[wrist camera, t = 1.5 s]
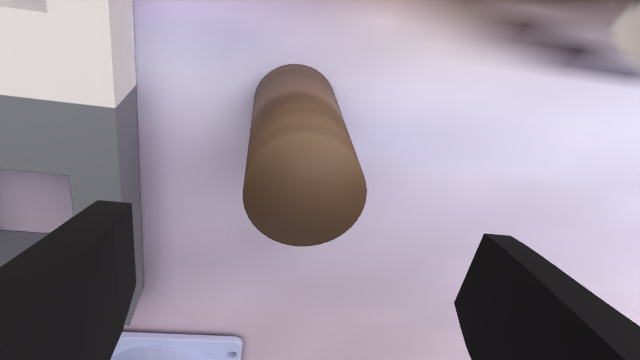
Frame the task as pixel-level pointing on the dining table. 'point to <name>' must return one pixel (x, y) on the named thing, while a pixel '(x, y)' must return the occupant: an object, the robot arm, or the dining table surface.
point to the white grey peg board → (71, 106)
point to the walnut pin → (301, 161)
